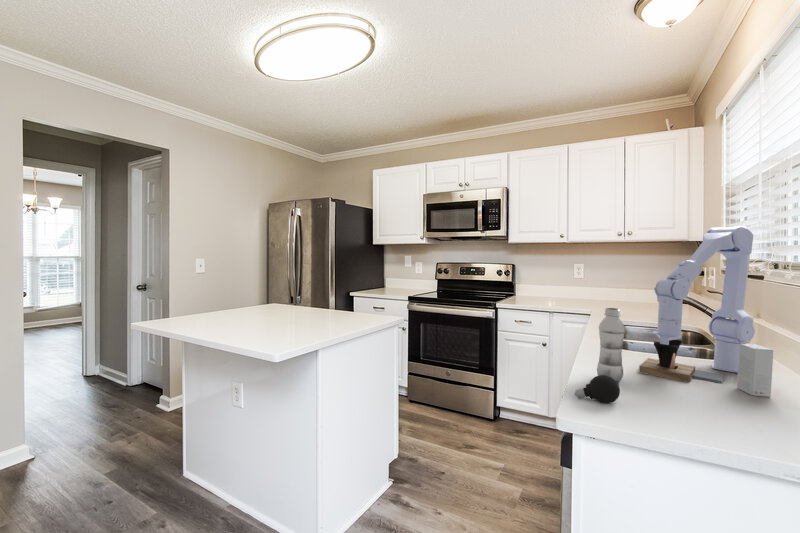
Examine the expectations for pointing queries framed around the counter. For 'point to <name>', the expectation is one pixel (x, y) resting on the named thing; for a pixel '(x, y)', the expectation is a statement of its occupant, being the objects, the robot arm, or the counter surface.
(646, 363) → the walnut holder
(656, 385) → the counter surface
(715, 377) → the rubber pad
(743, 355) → the skincare box
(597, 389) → the light bulb
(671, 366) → the peg
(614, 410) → the counter surface
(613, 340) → the plastic bottle
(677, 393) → the counter surface
